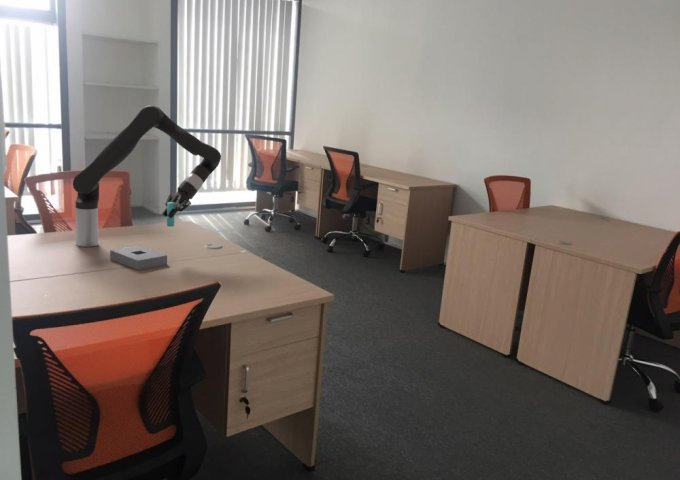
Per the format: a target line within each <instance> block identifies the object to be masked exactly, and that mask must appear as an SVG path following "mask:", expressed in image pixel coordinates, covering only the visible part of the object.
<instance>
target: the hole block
mask: <svg viewBox="0 0 680 480" xmlns="http://www.w3.org/2000/svg"><path fill="white" fill-rule="evenodd" d="M109 251H110V252H109V259H110V260H111V261H114V262H116V263H119V264H122V265H124V266H127V267H130V268H132V269H134V270H136V271H141V270H145V269H146V270H147V269H151V268H156V267H161V266H166V265H168V255H167V254H164V253H162V252H159V251H156V250H154V249H150V248H148V247H145V246H143V245H134V246H127V247H120V248H115V249H114V248H113V249H110V250H109Z"/></svg>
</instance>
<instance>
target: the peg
mask: <svg viewBox="0 0 680 480" xmlns="http://www.w3.org/2000/svg"><path fill="white" fill-rule="evenodd" d="M174 206H175V203H174V202H168V203H167V206H166V208H167V217H166V227H172V228H173V227H175V215H174V216H173V217H172V218H169V217H168V214H169V212H170V211H171V210H172V209H173V208H174Z"/></svg>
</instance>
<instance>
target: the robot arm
mask: <svg viewBox="0 0 680 480" xmlns="http://www.w3.org/2000/svg"><path fill="white" fill-rule="evenodd" d="M152 128H155V129H157V130H159V131H160V132H162V133H165V134H166V135H168V137H170V138H171V139H173V141H174V142H176V143H177V144H178V145H179V146H180V147H181V148H183V149H184V150H186V151H187V152H189V153H190V154H191V155H193V156H199V157H201V158H202V160H201V162H199V164H198V165H196V166H195V167H194V168H193V169H192V170H191V172H190V173H189V174H188V175H187V176H186V177H185V178H184V179H183V181H182V182H181V183H180V184H179V186H178V187H177V192H176V193H174V195H172V194H169V195H168V196H167V199H166V201H165V204H164V205H165V206H166V208H165V209H164V211H163V212H162V215H163V217H165V218H167V203H168V202H173V203H175V206H174V208H173V209H172V210H171V211H170V212H169V214H168V217H169V218H172V217H173V216H174V217H175V215H176V214H177V213H179V212H180V213H181V212H183V211H184V210H186V209H187V208H188V207H189V206H191V204H192V202H191V201H190V200H192V199H193V198H194V197H195V195H196V194H197V193H198V191H199V190H200V189H201V188H202V186H203V184H204V183H205V182H206V180H207V179H208V178H209V176H210V175H211V174H212V173H213V172H214V171H215V169H217V168H218V166H219V164H220V162H221V160H222V154H221V152H220V151H219V150H218V149H217V148H215V147H214V146H211V145H210V144H208V143H205V142H203V141H201V140H200V139H199V138H197V137H196V136H194V135H193V134H191V133H190V132H189V131H187V130H185V129H184V128H183V127H181V126H180V125H178V124H177V123H176V122H175V121H173V120H172V119H171V118H170V117H169V116H168V115H167V114H166V113H165V112H164V111H163V110H162V109H161V108H160V107H158V106H155V105H146V106H144V107H142V109H140V110H139V112H138V113H137V114H136V115H135V117H134V118H133V119H132V120H131V122H130V123H129V124H128V125H127V126H126V127H125V128H123V129H122V130H121V131H120V132H119V133H118V134H117V135H116V136H115V137H114V138H113V139H112V140H110V141H109V143H107V145H106V146H105V147H104V148H103V149H102V150H101V151H100V152H99V153H98V154H97V156H96V157H95V159H93V161H92V162H91V163H90V164H89V165H88V166H86V167H85V168H84V169H83V170H81V171H80V172H79V173H78V174H77V175H75V177H74V178H73V179H72V188H73V189H74V191H76V193H77V196H76V199H75V225H74V226H75V244H76V246H78V247H84V248H86V247H87V248H89V247H96V246H98V245H99V201H100V181H101V180H102V179H103V177H104V176H106V174H108V173H110V171H112V170H114V169H115V168H116V167H118V166H119V165H120V164H121V163H122V162H123V161H124V160H126V158H128V157H129V155H130V154H131V153H132V152H133V151H134V149H135V148H136V146H137V145H138V143H139V141H140V139H142V137H143V136H145V135H146V133H148V132H149V131H150V130H152Z"/></svg>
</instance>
